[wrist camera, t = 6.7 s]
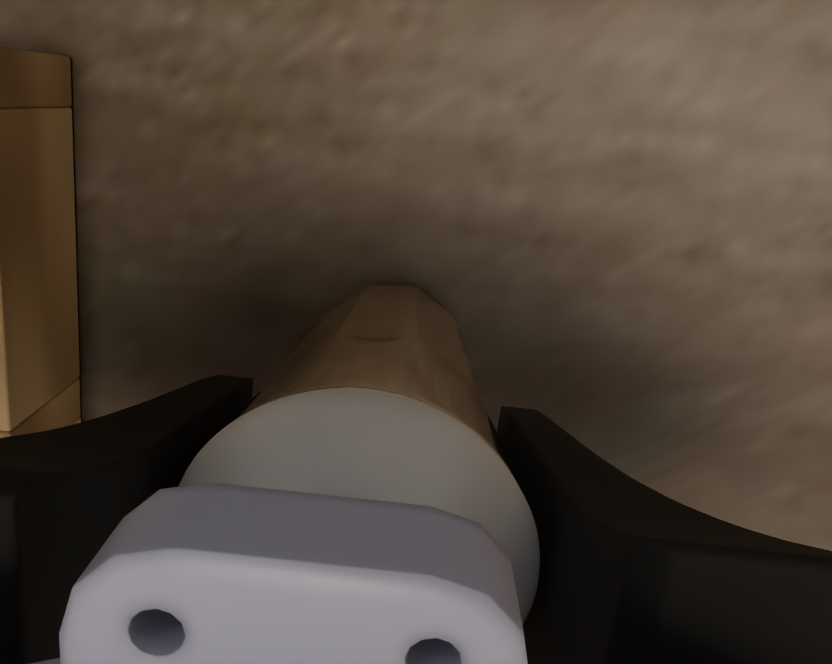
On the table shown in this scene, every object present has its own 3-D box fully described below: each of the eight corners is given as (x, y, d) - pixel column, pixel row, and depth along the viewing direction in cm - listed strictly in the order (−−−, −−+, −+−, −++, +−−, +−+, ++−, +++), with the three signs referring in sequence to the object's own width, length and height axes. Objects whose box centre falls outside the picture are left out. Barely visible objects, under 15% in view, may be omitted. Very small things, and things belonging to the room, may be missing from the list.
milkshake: (257, 433, 17) (35, 841, 8) (327, 222, 16) (156, 408, 6) (436, 494, 18) (434, 957, 8) (522, 293, 16) (646, 574, 7)
